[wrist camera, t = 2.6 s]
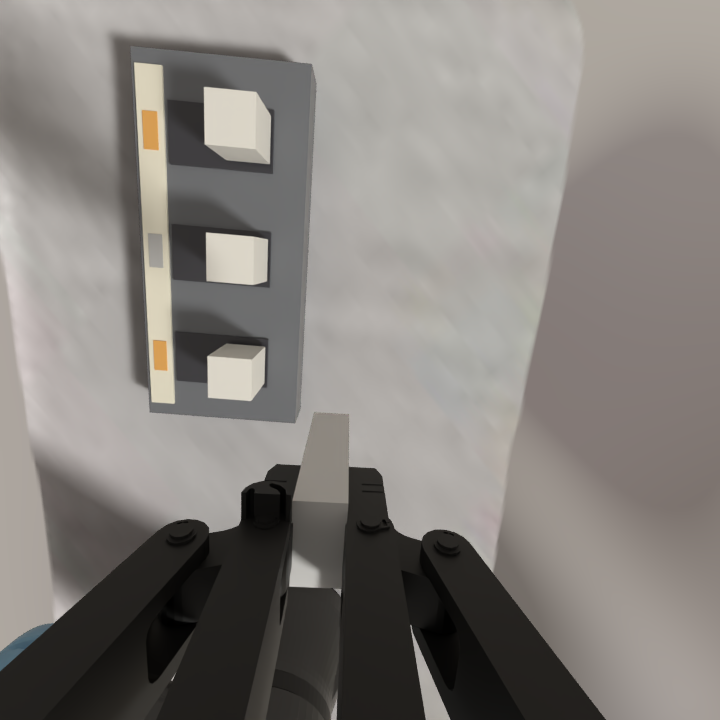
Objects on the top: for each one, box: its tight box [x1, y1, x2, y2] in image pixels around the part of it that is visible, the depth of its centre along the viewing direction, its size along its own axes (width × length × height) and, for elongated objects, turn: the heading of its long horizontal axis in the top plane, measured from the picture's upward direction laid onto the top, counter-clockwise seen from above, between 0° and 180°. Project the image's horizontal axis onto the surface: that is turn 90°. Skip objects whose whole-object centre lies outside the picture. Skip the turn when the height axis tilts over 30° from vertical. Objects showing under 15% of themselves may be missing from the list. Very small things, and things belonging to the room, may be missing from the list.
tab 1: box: [204, 87, 271, 164], centre depth 25 cm, size 3×3×4 cm
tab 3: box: [207, 344, 265, 401], centre depth 29 cm, size 3×3×4 cm
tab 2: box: [206, 232, 268, 285], centre depth 27 cm, size 3×3×4 cm
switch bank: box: [130, 46, 316, 423], centre depth 31 cm, size 26×12×3 cm, turn 175°
